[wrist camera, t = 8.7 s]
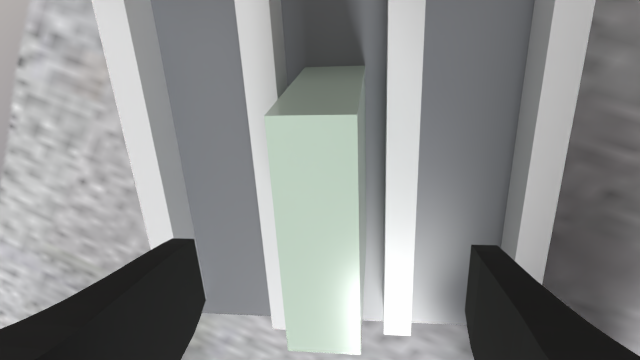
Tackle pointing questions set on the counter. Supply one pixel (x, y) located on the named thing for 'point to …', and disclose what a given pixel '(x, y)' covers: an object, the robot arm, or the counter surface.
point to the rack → (381, 134)
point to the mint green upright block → (320, 206)
